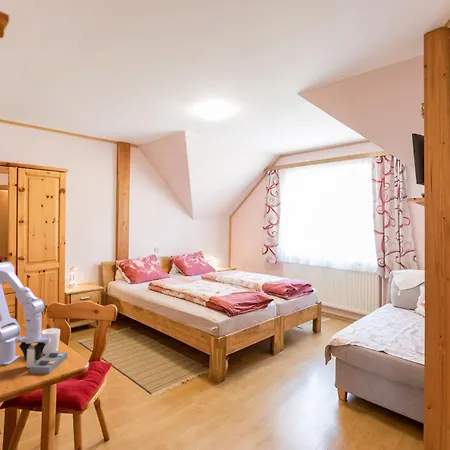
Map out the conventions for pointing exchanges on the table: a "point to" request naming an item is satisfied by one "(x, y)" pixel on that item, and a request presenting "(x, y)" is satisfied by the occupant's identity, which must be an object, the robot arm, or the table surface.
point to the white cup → (55, 336)
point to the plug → (31, 356)
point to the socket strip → (48, 362)
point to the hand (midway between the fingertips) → (32, 359)
